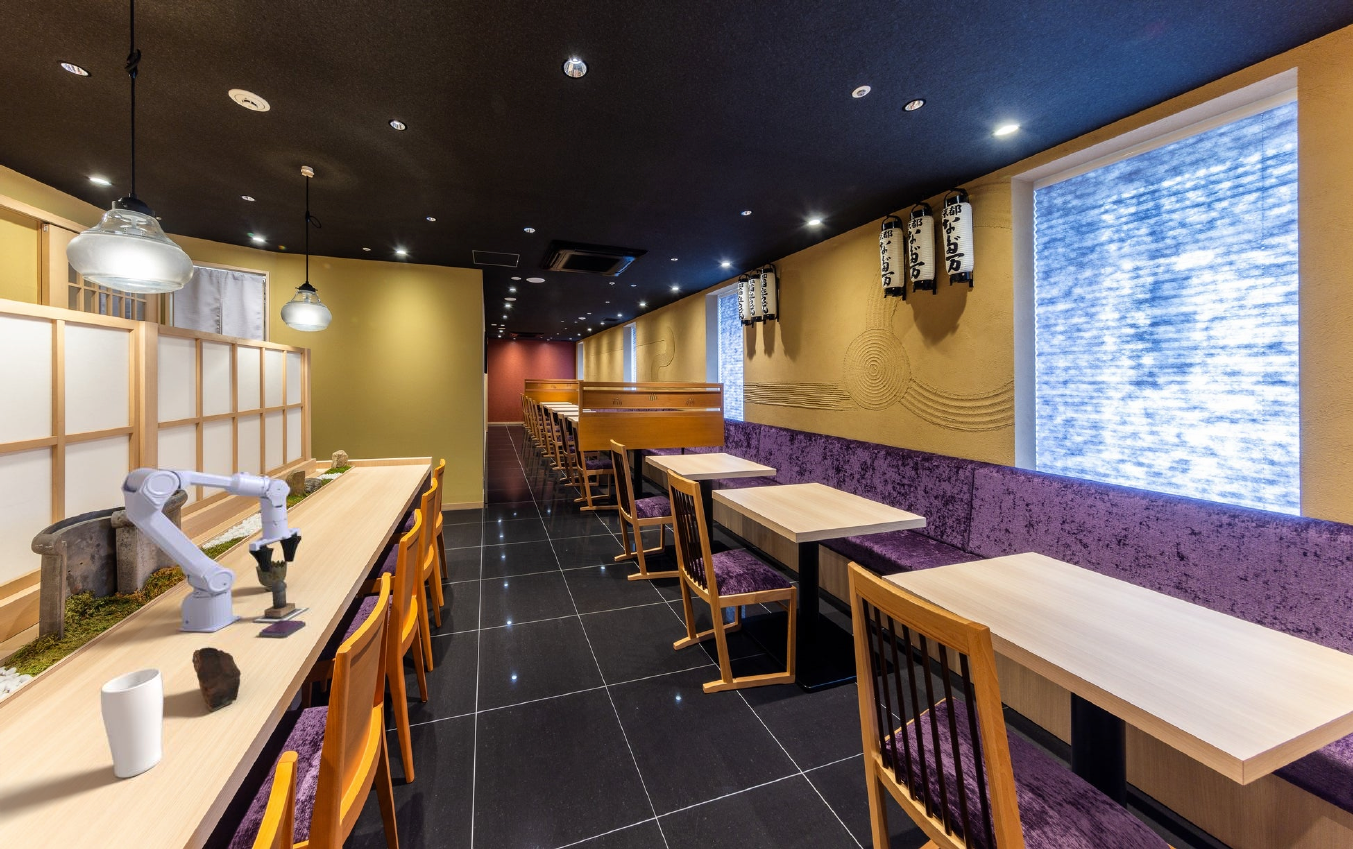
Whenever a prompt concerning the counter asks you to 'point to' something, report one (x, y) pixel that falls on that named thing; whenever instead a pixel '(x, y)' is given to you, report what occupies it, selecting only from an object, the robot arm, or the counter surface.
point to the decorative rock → (216, 677)
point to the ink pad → (282, 628)
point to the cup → (272, 574)
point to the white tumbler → (134, 720)
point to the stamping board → (288, 617)
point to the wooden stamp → (279, 602)
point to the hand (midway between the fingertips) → (278, 566)
